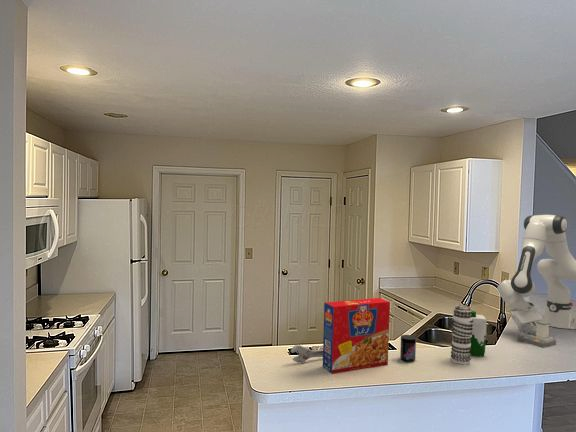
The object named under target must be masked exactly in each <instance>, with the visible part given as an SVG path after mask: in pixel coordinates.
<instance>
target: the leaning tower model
mask: <svg viewBox="0 0 576 432" xmlns="http://www.w3.org/2000/svg"><path fill="white" fill-rule="evenodd" d="M472 311H473V310H472V309H471V307H470V306H469V305H464V304H457V305H456V306H455V307H453V315H452V317H451V335H452V340H451V345H450V346H451V348H450V349H451V351H450V361H451V362H454V363H456V364H460V365H470V364H471V362H472V361H471V360H472V356H471V354H470V352H471V350H470V349H471V342H470V341H471V339H470V338H471V337H472V335H471V334H472V332H471V330H473V329H472V328H471V327H472V326H473V325H472V324H471V322H473V320H472V317H471V315H472Z"/></svg>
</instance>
